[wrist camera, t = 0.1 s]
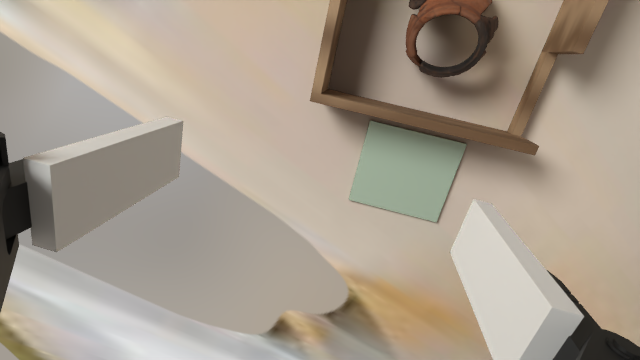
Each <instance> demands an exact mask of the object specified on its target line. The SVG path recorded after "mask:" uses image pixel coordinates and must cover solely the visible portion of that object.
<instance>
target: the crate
mask: <svg viewBox="0 0 640 360" xmlns="http://www.w3.org/2000/svg"><path fill="white" fill-rule="evenodd" d="M608 1H609V0H564V1H563V4H562V6H561V8H560V11H559V13H558V15H557V18H556V20H555V22H554V25H553V27H552V29H551V32H550V34H549V36H548V38H547V41H546V43H545V45H544V48H543V50H542V52H541V55H540V57H539V59H538V62H537V64H536V66H535V69H534V71H533V73H532V76H531V78H530V80H529V82H528V85H527V87H526V89H525V92H524V94H523V96H522V99H521V101H520V103H519V106H518V108H517V110H516V113H515V115H514V117H513V120H512V122H511V124H510V127H509V129H508V131H503V130H498V129H494V128H490V127H486V126H482V125H477V124H473V123H469V122H465V121H461V120H456V119H452V118H448V117H444V116H440V115H435V114H431V113H427V112H423V111H418V110H414V109H410V108H406V107H402V106H397V105H393V104H389V103H385V102H381V101H376V100H372V99H368V98H364V97H360V96H355V95H351V94H347V93H343V92H339V91H334V90H330V89H328V86H329V81H330V77H331V72H332V68H333V63H334V58H335V54H336V49H337V44H338V40H339V35H340V30H341V26H342V21H343V17H344V12H345V7H346V3H347V0H330V3H329V8H328V13H327V18H326V23H325V28H324V33H323V38H322V43H321V48H320V53H319V58H318V63H317V68H316V73H315V78H314V83H313V88H312V93H311V98H310V101H312V102H316V103H320V104H324V105H328V106H333V107H337V108H341V109H345V110H349V111H353V112H357V113H362V114H366V115H370V116H374V117H378V118H382V119H386V120H391V121H395V122H399V123H403V124H407V125H411V126H415V127H420V128H424V129H428V130H432V131H436V132H440V133H445V134H449V135H453V136H457V137H461V138H465V139H469V140H474V141H478V142H482V143H486V144H490V145H494V146H498V147H503V148H507V149H511V150H515V151H519V152H523V153H527V154H532V155H535V154H536V152H537V150H538V148H539V146H538V145H536V144H534V143H532V142H531V141H529V140H527V139H525V138H523V137H521V135H522V133H523V131H524V129H525V126H526V124H527V122H528V120H529V117H530V115H531V113H532V111H533V109H534V106H535V104H536V102H537V100H538V97H539V95H540V93H541V91H542V89H543V86H544V84H545V82H546V80H547V77H548V75H549V73H550V71H551V69H552V66H553V64H554V62H555V60H556V57H557V55H558V54H583V53H584V51H585V49H586V47H587V45H588V43H589V41H590V39H591V36H592V34H593V32H594V30H595V28H596V26H597V24H598V22H599V20H600V18H601V15H602V13H603V11H604V9H605V7H606V5H607V3H608Z"/></svg>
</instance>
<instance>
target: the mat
mask: <svg viewBox="0 0 640 360" xmlns="http://www.w3.org/2000/svg"><path fill="white" fill-rule="evenodd" d="M466 145H467V144H466V143H462V142H458V141H454V140H450V139H446V138H441V137H437V136H433V135H429V134H425V133H421V132H417V131H412V130H408V129H404V128H400V127H396V126H392V125H388V124H384V123H379V122H375V121H371V120H370V123H369V127H368V130H367V134H366V138H365V141H364V145H363V149H362V152H361V156H360V160H359V163H358V167H357V171H356V174H355V178H354V182H353V186H352V189H351V193H350V197H349V200H351V201H355V202H359V203H363V204H367V205H371V206H375V207H379V208H382V209H386V210H390V211H394V212H398V213H402V214H406V215H410V216H413V217H417V218H421V219H425V220H429V221H433V222H437V219H438V217H439V214H440V212H441V209H442V207H443V204H444V202H445V199H446V196H447V194H448V191H449V189H450V186H451V184H452V181H453V179H454V176H455V173H456V171H457V168H458V166H459V163H460V161H461V158H462V156H463V153H464V150H465V148H466Z"/></svg>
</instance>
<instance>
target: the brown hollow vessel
mask: <svg viewBox="0 0 640 360" xmlns="http://www.w3.org/2000/svg"><path fill="white" fill-rule="evenodd" d="M491 3H492V0H410V2H409V7H410V8H412V9H413V10H415V9H418V8H420V7H421V8H420V10H419V13H418V15H415V14H412V15H411V18H410V21H409V24H408V28H407V32H406V48H407V50H406V53H407V56H408V57H409V58H410V60H411V61H412V62H413V63H415V64H416V65H418V66H419V67H420V71H421V72H423V73H425V74H428V75H432V76H435V77H449V76H455V75H459V74H461V73H463V72H465V71H467V70H469V69H470V68H472V67H473V66H474V65H475V64H476V63H477V62H478V61H479V60H480V59H481V58H482V57H483V56H484V55H485V53H486V51H485V49H486V47H487V44H488V43H489V42H490V40H491V39H492V38H493V36H494V32H495V31H496V30H497V28H498V18H497V16H494V17H493V18H489V17H485V16H482V15H481V14H482V13H483V12H484V11H485V10H486V8H487V7H488V6H489V5H490V4H491ZM447 14H455V15H460V16H462V17H465V18H467V19H468V20H470V21H471V22H472V23H473V24H474V25H475V27H476V29H477V31H478V37H479V38H478V45H477V48H476V50H475V51H474V53H473V54H472V55H471V56H470V57H469V58H468V59H467V60H465V61H464V62H462V63H460V64H458V65H455V66H451V67H436V66H433V65H430V64H428V63H426V62H425V61H422V60H421V59H420V57H419V56H418V55H417V49H416V38H417V35H418V33H419V31H420V30H421V28H422V27H423V26H424V24H425V23H427V22H428V21H430V20H431V19H433V18H435V17H438V16H441V15H447Z"/></svg>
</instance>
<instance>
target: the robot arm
mask: <svg viewBox="0 0 640 360" xmlns="http://www.w3.org/2000/svg"><path fill="white" fill-rule="evenodd" d="M182 131H183V121H182V120H178V119H174V118H171V117H164V118H160V119H157V120H153V121H150V122H146V123H143V124H139V125H136V126H132V127H129V128H125V129H123V130H119V131H115V132H112V133H108V134H105V135H102V136H98V137H94V138H91V139H88V140H84V141H80V142H77V143H73V144H70V145H66V146H63V147H59V148H56V149H53V150H49V151H45V152H42V153H38V154H35V155H31V156H28V157H24V158H23V159H22V160H19V161H15V162H12V163H8V155H7V148H6V139H5V134H3V133H1V132H0V312H1V308H2V305H3V301H4V298H5V294H6V290H7V287H8V283H9V280H10V276H11V272H12V269H13V265H14V262H15V258H16V254H17V251H18V247H19V241H18V233H21V232H23V231H24V230H26V229H29V228H31V236H32V245H34V246H38V247H41V248H44V249H47V250H51V251H54V252H58V251H59V250H61V249H63V248H64V247H66V246H67V245H69V244H71V243H72V242H74V241H76V240H77V239H79V238H80V237H82V236H84V235H85V234H87V233H88V232H90V231H92V230H93V229H95V228H96V227H98V226H100V225H102V224H103V223H105V222H106V221H108V220H110V219H111V218H113V217H115V216H116V215H118V214H119V213H121V212H123V211H124V210H126V209H128V208H129V207H131V206H132V205H134V204H136V203H137V202H139V201H141V200H142V199H144V198H145V197H147V196H148V195H150V194H152V193H153V192H155V191H157V190H158V189H160V188H161V187H163V186H165V185H166V184H168V183H170V182H171V181H173V180H175V179H176V178H177V177H179V170H180V157H181V144H182ZM450 253H451V256H452V258H453V261H454V263H455V266H456V268H457V271H458V273H459V276H460V278H461V281H462V283H463V286H464V288H465V291H466V293H467V296H468V298H469V301H470V303H471V306H472V308H473V311H474V313H475V316H476V318H477V321H478V323H479V326H480V328H481V331H482V333H483V336H484V338H485V341H486V343H487V346H488V348H489V351H490V353H491V356H492V358H493V360H640V347H638V346H637V345H635V344H634V343H632V342H631V341H629V340H628V339H626V338H624V337H622V336H620V335H618V334H616V333H613V332H610V331H607V330H603V329H601V328H600V326H599V325H598V324H597V323H596V322H595V321H594V319H593V318H592V317H591V316H590V315H589V313H588V312H587V311H586V310H585V309H584V308H583V306H582V305H581V304H579V302H578V300H577V299H576V298H575V297H574V296H573V295H572V294H571V292H570V291H569V290H568V289H567V287H566V286H565V285H564V284H563V283H562V282H561V281H560V280H559V279H558V278H556V277H555V276H554V275H553V274H551V273H550V272H549V271H548V270H546V269H545V268H544V267H543V265H542V264H541V263H540V262H539V261H538V259H537V258H536V257H535V256H534V254H533V253H532V252H531V251H530V250H529V248H528V247H527V246H526V245H525V243H524V242H523V241H522V240H521V239H520V237H519V236H518V235H517V234H516V233H515V231H514V230H513V229H512V228H511V226H510V225H509V224H508V223H507V222H506V220H505V219H504V218H503V217H502V215H501V214H500V213H499V212H498V211H497V209H496V208H495V207H494V206H493V204H492V203H488V202H484V201H481V200H477V199H474V200H473V202H472V204H471V206H470V208H469V211H468V213H467V215H466V217H465V220H464V222H463V224H462V226H461V229H460V231H459V233H458V235H457V238H456V240H455V242H454V244H453V247H452V249H451V251H450Z"/></svg>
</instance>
